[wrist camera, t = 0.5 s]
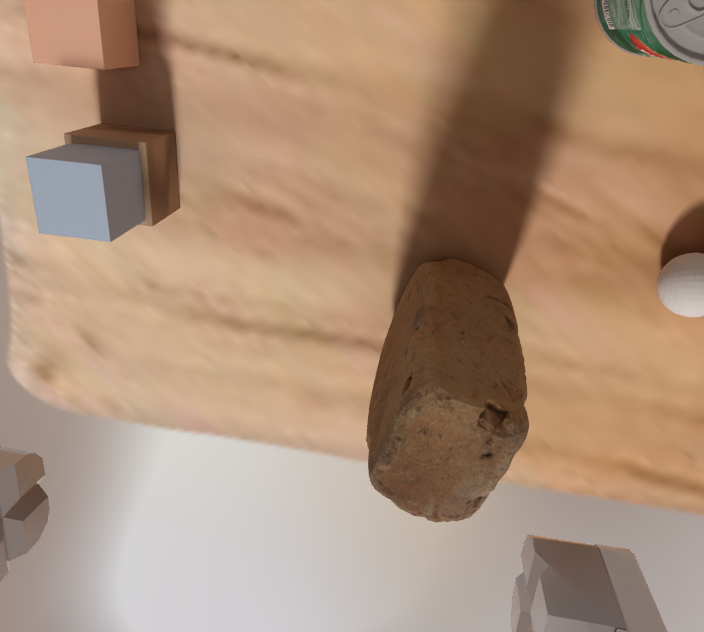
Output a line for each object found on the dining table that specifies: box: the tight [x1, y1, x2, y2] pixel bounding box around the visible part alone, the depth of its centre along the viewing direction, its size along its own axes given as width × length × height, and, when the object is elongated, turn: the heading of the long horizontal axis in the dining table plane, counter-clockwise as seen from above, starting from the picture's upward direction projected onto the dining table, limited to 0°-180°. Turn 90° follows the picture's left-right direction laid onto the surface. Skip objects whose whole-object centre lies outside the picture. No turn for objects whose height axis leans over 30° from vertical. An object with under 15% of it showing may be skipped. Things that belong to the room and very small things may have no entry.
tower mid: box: [26, 143, 146, 242], centre depth 40 cm, size 5×5×5 cm
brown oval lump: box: [366, 258, 529, 522], centre depth 39 cm, size 11×8×20 cm
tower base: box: [64, 124, 180, 226], centre depth 44 cm, size 6×6×5 cm
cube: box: [24, 0, 140, 70], centre depth 40 cm, size 5×5×5 cm
